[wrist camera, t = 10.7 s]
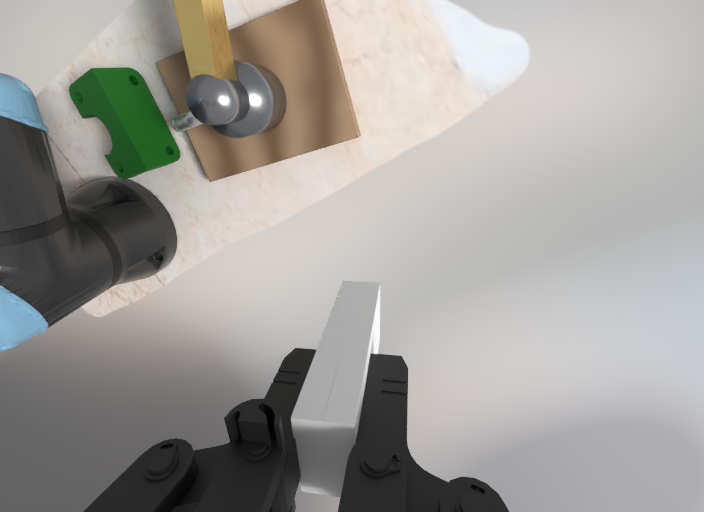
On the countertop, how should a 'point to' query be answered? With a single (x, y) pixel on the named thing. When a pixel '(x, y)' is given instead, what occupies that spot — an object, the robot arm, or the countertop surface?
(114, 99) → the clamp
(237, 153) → the stand
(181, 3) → the yellow bar
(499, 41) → the countertop surface
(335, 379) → the robot arm
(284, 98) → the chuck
